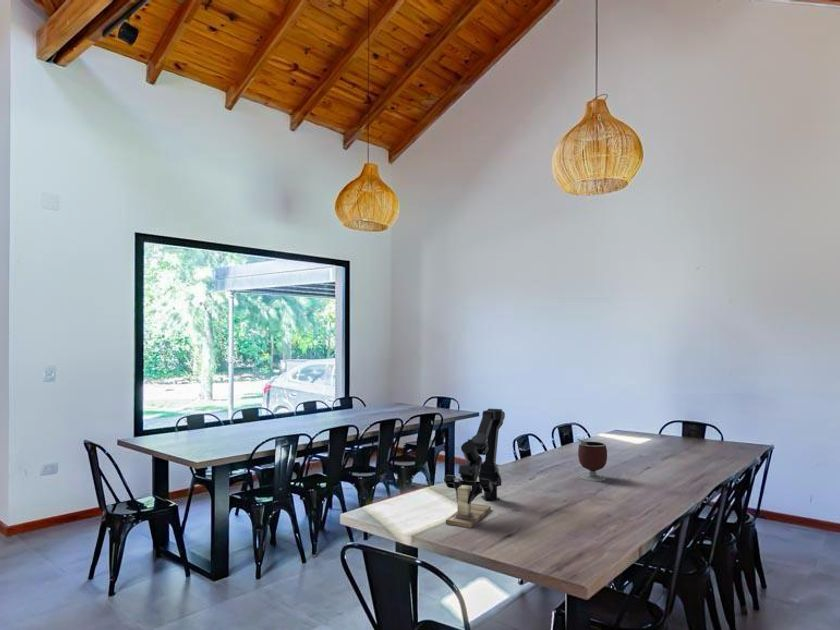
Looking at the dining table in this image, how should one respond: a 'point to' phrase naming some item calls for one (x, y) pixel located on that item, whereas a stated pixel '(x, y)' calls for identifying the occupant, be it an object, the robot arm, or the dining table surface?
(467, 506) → the tall beige pillar block
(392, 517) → the dining table surface
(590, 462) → the mate gourd
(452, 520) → the walnut board
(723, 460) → the dining table surface
